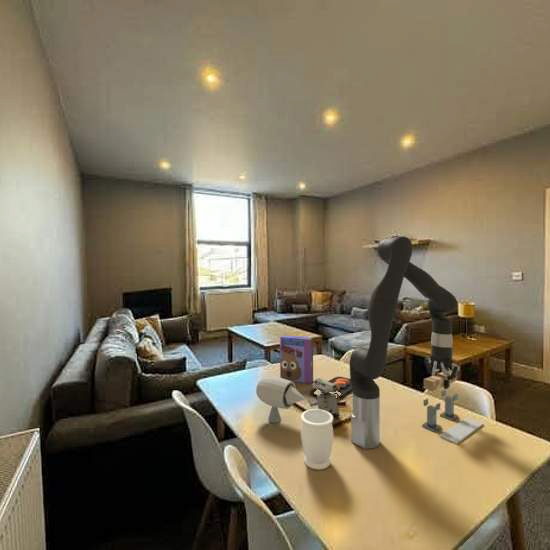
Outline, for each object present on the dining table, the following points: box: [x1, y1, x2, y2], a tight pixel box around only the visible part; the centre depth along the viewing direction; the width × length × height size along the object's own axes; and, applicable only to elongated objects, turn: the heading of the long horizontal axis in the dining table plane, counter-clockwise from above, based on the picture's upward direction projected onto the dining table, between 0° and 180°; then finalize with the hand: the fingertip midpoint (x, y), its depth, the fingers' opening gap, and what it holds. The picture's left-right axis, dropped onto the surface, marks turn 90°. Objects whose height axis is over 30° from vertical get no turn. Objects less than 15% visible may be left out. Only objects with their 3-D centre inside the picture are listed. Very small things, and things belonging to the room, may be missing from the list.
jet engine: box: [255, 376, 306, 423], centre depth 125 cm, size 15×20×18 cm
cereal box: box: [279, 334, 314, 385], centre depth 169 cm, size 17×5×24 cm, turn 67°
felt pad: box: [439, 417, 484, 445], centre depth 117 cm, size 22×6×1 cm, turn 125°
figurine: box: [308, 377, 341, 418], centre depth 129 cm, size 9×12×15 cm
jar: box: [300, 408, 334, 471], centre depth 99 cm, size 11×10×15 cm
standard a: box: [421, 398, 442, 433], centre depth 119 cm, size 5×5×10 cm
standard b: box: [439, 389, 460, 422], centre depth 128 cm, size 5×5×10 cm
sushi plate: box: [310, 376, 353, 397], centre depth 152 cm, size 29×30×4 cm
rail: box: [423, 369, 458, 392], centre depth 123 cm, size 19×4×4 cm, turn 125°
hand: (440, 386), depth 123 cm, fingers closed on rail, 3 cm apart
